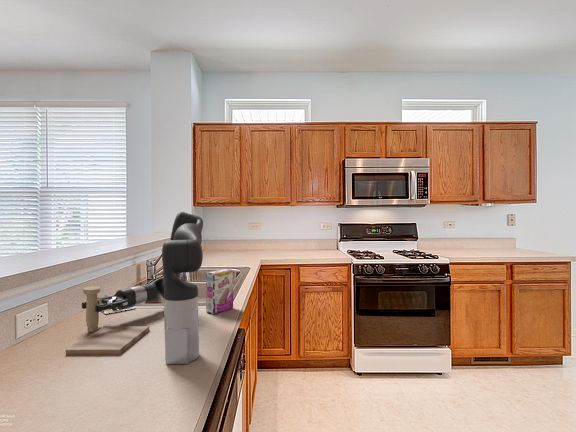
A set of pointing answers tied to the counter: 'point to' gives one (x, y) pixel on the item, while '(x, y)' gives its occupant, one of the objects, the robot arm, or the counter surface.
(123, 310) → the dessert
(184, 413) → the counter surface
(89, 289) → the handle
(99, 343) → the walnut board
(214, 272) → the candy bar box
